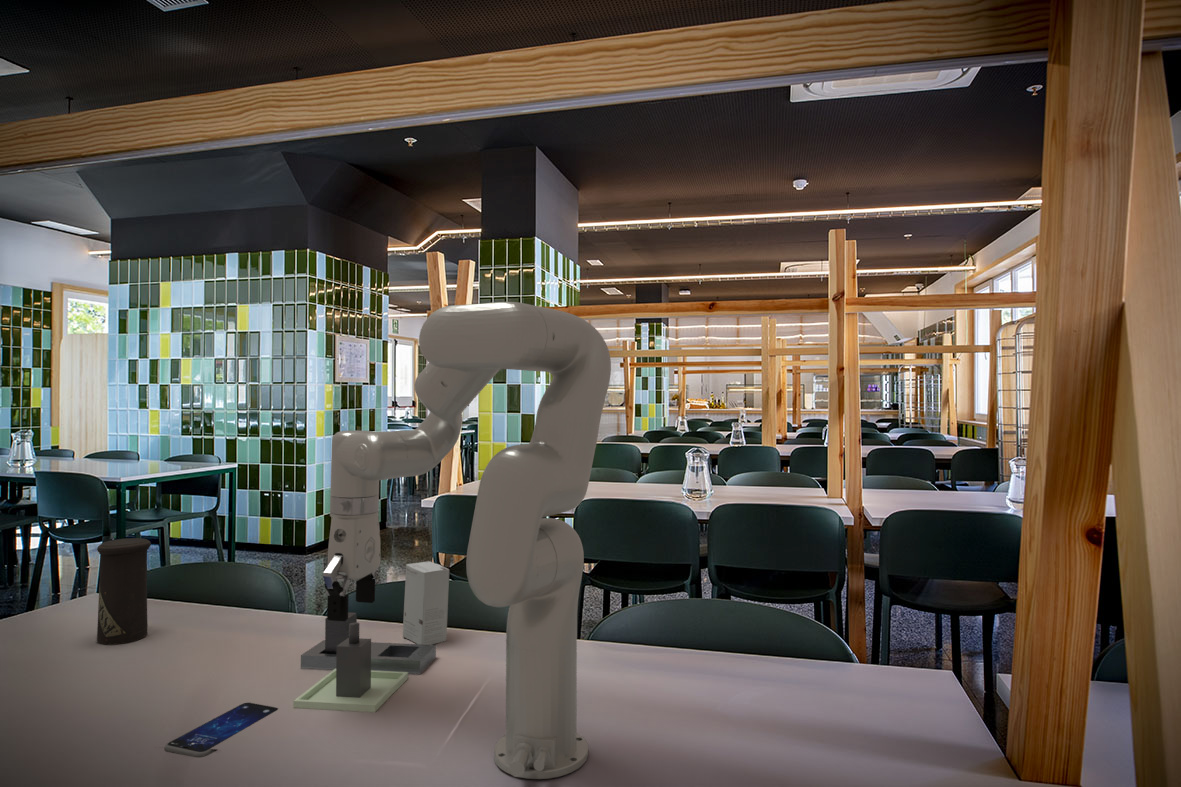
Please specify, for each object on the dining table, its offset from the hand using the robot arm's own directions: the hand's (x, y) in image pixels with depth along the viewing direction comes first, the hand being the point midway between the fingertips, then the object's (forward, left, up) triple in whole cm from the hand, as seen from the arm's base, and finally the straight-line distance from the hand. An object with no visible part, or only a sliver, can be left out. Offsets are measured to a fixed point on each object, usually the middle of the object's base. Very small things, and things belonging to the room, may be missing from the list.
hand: (352, 610), depth 112 cm
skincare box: (+27, -3, -14) cm, 31 cm away
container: (+20, +58, -14) cm, 63 cm away
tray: (0, -1, -14) cm, 14 cm away
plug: (0, -1, -13) cm, 13 cm away
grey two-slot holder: (+12, +2, -14) cm, 18 cm away
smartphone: (-14, +12, -14) cm, 23 cm away
